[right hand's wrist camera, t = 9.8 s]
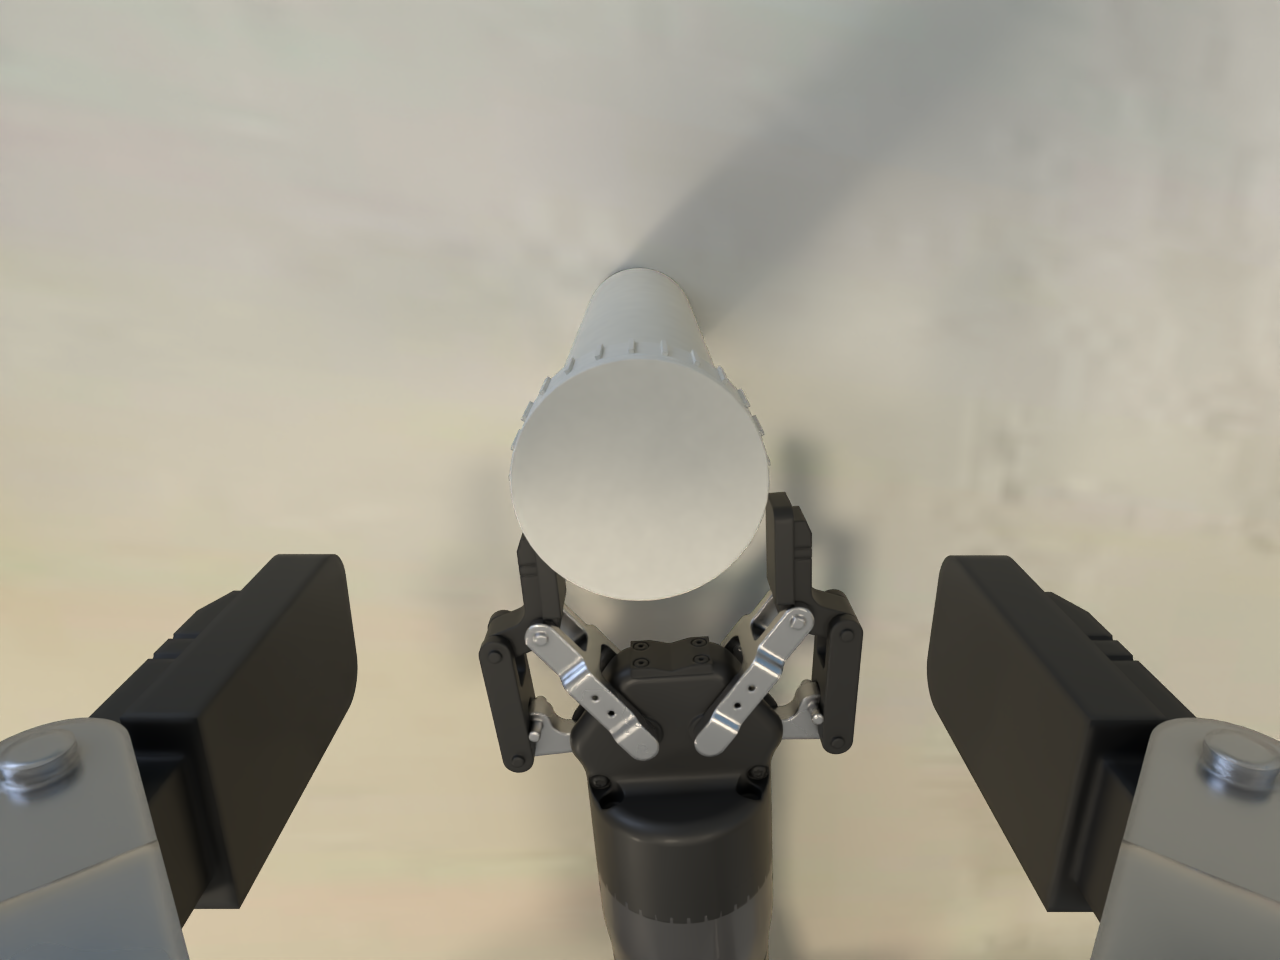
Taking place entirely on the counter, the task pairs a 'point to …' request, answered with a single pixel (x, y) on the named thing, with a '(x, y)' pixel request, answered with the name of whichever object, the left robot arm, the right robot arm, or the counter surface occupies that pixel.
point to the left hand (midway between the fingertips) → (660, 506)
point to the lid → (639, 471)
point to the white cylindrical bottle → (639, 314)
